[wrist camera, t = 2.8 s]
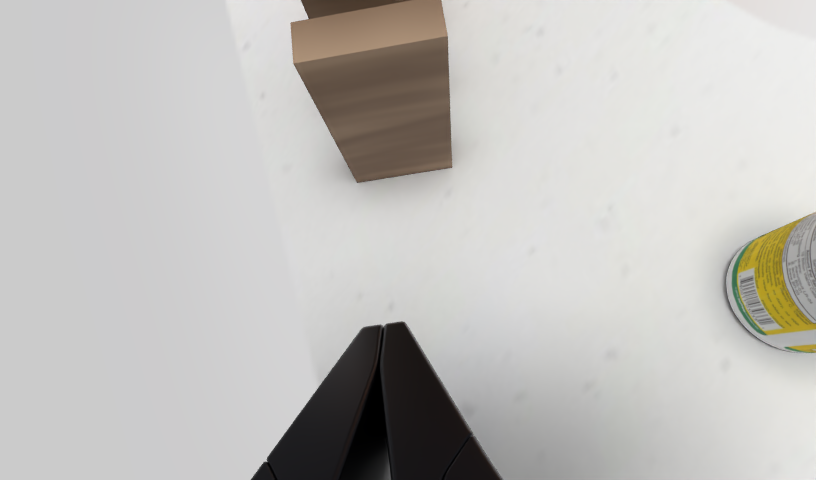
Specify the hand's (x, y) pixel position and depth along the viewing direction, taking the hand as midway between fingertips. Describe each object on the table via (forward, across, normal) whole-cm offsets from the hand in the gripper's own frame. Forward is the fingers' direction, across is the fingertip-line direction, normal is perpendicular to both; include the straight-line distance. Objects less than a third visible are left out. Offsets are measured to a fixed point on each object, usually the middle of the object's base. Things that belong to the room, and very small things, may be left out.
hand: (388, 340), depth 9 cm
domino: (+17, 0, +2) cm, 17 cm away
